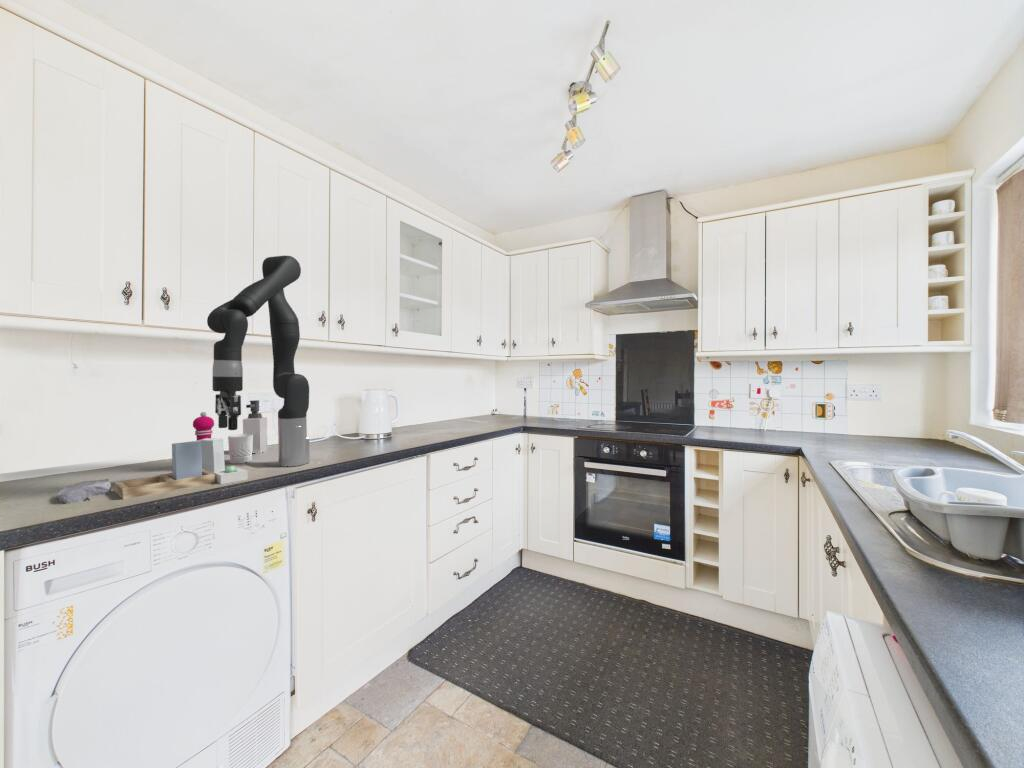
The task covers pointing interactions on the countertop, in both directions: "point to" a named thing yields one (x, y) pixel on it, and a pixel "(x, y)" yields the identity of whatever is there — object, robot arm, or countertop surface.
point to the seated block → (186, 460)
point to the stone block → (84, 490)
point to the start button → (229, 469)
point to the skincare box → (212, 454)
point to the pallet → (160, 484)
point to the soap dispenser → (256, 427)
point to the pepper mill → (203, 426)
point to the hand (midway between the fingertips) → (227, 428)
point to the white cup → (240, 448)
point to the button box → (230, 476)
